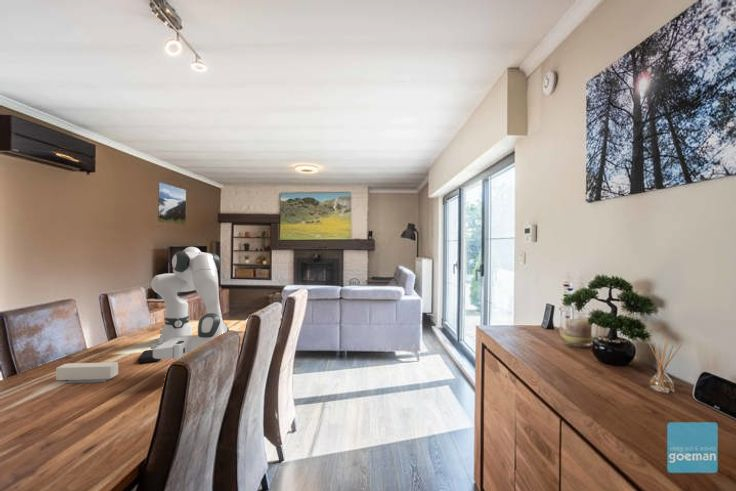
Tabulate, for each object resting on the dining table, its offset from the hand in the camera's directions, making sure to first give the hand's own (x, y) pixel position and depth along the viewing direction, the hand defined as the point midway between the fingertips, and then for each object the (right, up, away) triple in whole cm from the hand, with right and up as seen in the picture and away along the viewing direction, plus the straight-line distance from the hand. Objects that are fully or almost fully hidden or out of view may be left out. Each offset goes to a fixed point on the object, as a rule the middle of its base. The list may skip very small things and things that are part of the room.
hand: (152, 346), depth 141 cm
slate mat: (-22, -12, -3) cm, 25 cm away
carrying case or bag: (-14, -13, +22) cm, 29 cm away
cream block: (-14, -9, -2) cm, 17 cm away
